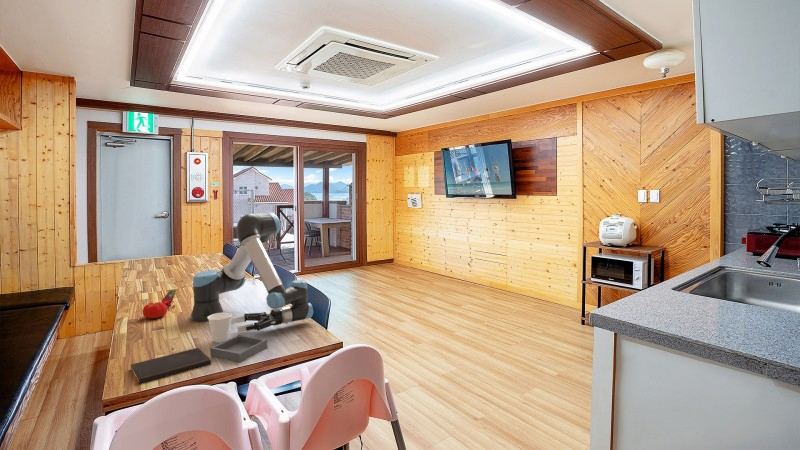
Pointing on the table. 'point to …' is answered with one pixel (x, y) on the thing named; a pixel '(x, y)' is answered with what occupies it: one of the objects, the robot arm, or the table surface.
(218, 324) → the cup
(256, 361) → the table surface
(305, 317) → the robot arm
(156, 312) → the tomato
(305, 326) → the table surface
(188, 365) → the dark grey slab
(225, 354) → the holder tray
